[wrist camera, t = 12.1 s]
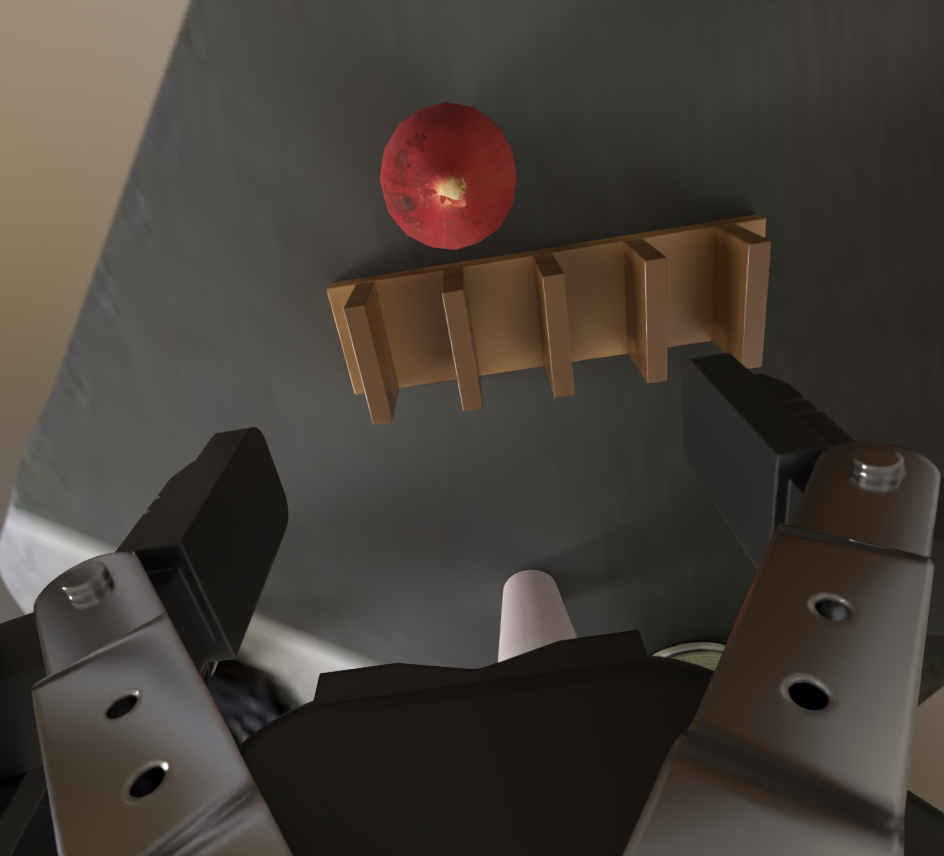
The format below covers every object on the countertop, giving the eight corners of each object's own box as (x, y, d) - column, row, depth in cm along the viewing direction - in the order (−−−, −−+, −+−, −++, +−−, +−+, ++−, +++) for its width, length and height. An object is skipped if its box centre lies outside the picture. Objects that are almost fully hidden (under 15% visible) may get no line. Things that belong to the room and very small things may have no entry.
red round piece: (407, 243, 32) (394, 286, 25) (373, 120, 29) (346, 129, 22) (519, 215, 31) (538, 251, 24) (495, 88, 28) (508, 85, 21)
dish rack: (358, 385, 35) (343, 429, 31) (330, 282, 33) (309, 313, 28) (749, 326, 34) (794, 362, 30) (756, 214, 31) (807, 234, 27)
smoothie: (560, 542, 41) (604, 734, 29) (587, 608, 44) (639, 809, 32) (469, 571, 42) (475, 769, 30) (502, 634, 45) (520, 839, 33)
